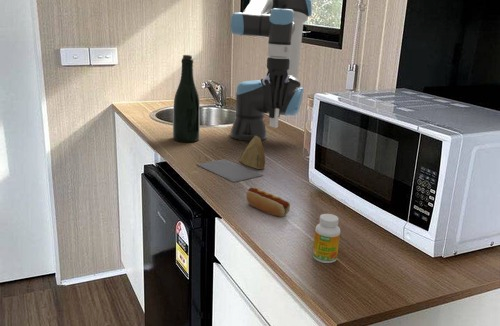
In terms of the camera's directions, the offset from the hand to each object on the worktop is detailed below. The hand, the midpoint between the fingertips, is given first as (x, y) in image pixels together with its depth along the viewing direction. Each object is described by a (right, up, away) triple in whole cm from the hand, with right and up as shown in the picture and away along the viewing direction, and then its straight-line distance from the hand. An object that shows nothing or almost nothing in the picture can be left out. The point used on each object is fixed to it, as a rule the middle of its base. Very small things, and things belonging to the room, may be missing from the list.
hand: (273, 126), depth 169 cm
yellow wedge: (-7, -14, -1) cm, 16 cm away
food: (-4, -25, -37) cm, 45 cm away
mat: (-15, -15, -8) cm, 23 cm away
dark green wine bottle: (-34, -3, +26) cm, 42 cm away
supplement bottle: (+8, -34, -61) cm, 70 cm away
